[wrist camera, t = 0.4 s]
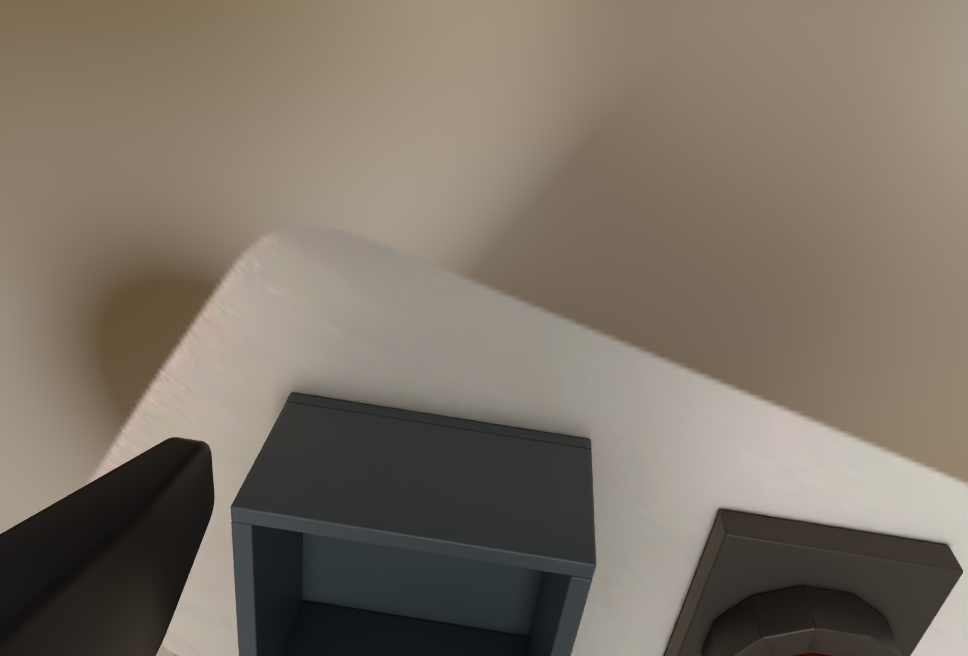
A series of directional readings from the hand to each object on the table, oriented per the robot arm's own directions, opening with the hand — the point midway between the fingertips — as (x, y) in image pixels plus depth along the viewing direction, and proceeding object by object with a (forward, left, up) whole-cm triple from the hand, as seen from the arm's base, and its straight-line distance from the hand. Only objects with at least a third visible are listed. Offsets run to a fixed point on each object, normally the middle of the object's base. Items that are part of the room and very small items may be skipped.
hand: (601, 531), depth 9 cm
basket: (-15, +3, -14) cm, 21 cm away
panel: (-17, -11, -14) cm, 25 cm away
